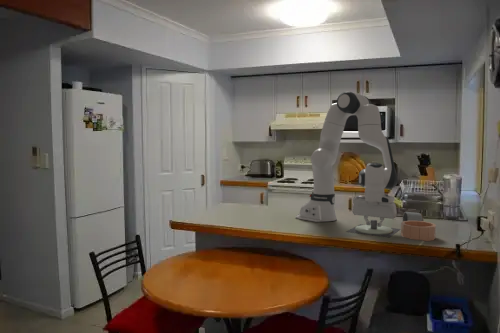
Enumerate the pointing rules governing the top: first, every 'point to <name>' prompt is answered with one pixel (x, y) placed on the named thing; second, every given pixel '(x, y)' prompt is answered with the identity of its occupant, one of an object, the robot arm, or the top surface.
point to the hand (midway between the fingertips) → (373, 226)
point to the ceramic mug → (412, 216)
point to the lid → (373, 229)
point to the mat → (374, 234)
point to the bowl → (418, 230)
